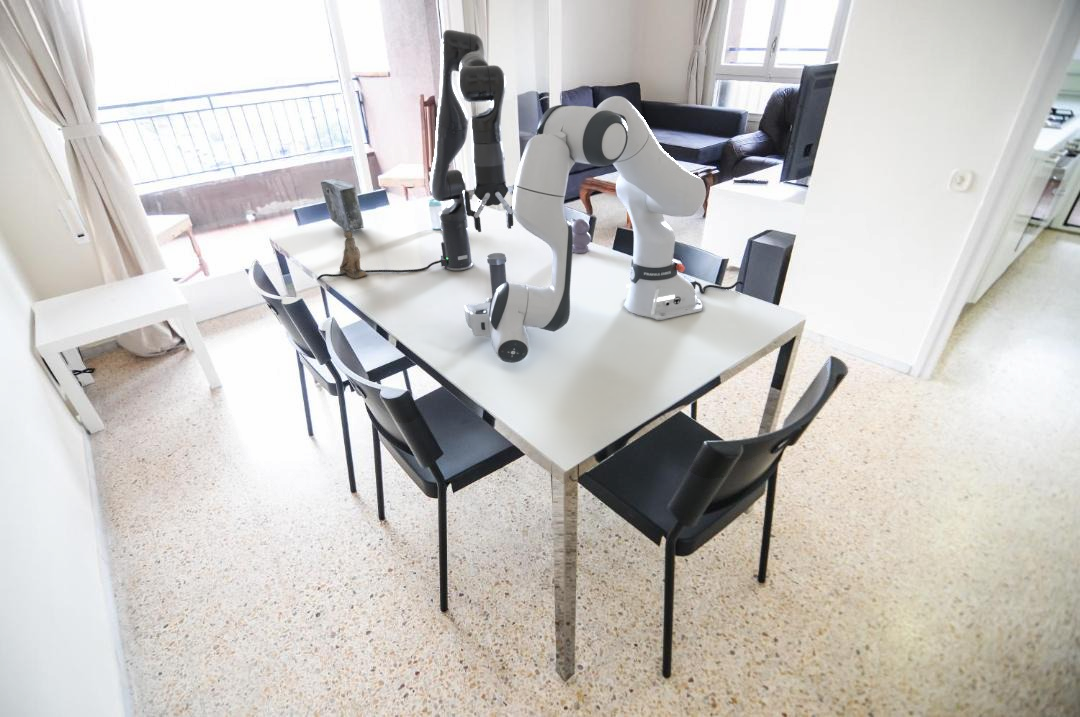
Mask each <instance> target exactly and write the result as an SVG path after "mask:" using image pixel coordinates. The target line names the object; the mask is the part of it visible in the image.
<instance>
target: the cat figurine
mask: <svg viewBox="0 0 1080 717" xmlns="http://www.w3.org/2000/svg"><path fill="white" fill-rule="evenodd" d="M570 221H571V226H572V231H573V251H572V253H575V254H585V253H587V252H588V251H589V246H588V245H590V243H591V241H592V236H591V234H590V233H589V231H590V224H589V222H588V221H587V219H584V218H577V219H575V218H570Z"/></svg>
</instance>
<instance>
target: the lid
mask: <svg viewBox="0 0 1080 717" xmlns="http://www.w3.org/2000/svg"><path fill="white" fill-rule="evenodd" d="M486 259H487V264H488V265H489V264H490V265H501V264H504V263H505V264H506V263H507V257H506V254H505V253H502V252H492V253H490V254H488V255H487V257H486Z"/></svg>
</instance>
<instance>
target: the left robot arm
mask: <svg viewBox="0 0 1080 717" xmlns="http://www.w3.org/2000/svg"><path fill="white" fill-rule="evenodd" d="M441 36H442V37H441V41H440V63H439V64H440V66H439V67H440V68H439V69H440V72H439V94H438V103H437V104H438V105H437V115H436V126H435V145H434V154H433V161H432V167H431V172H430V178H429V179H430V180H429V189H430V193H431V196H432V199H435V200H436V201H442V202H447V201H450V202H449V203H448V205H447V206H446V207H444V209H443V210H442V211H441V212H440V223H441V229H440V230H441V235H442V242H441V243H440V246H441V250H442V251H441V253H442V255H440V260H435V261H433V262H431V263H429V264H428V265H427V266H424V267H421V268H415V269H413V268H412V269H367V270H366V269H365V270H364V271H365V273H366V274H368V273H414V272H415V273H417V272H422V271H425V270H429V268H431V267H432V266H433V265H437V264H440V267H444V269H445V270H449V271H454V272H459V271H467V270H469V269H471V268H472V266H473V260H472V250H471V242H470V234H469V224H468V217H472V218H473V225H474V229H475V230H476V231H477V232H478V233H482V224H481V217H480V215H481V213H482V211H483V210H484V208H485V206H486V207H491V206H500V204H501V205H502V206H503V208H504V209H505V211H506V212H505V217H506V218H505V219H506V227H507V228H508V230H509V229H512V227H513V226H514V213H513V210H512V205H511V206H510V205H509V203H508V202H507V200H506V199H505V197H506V196H507V194H508V192H509V194H510V195H511V196H513V191H514V185H515V184H512V185H509V186H508V185H507V182H506V181H507V180H506V168H505V167H506V166H505V165H506V164H505V153H504V146H503V138H502V127H501V126H502V124H501V122H502V110H503V104H504V98H505V92H506V87H507V85H506V84H507V80H506V79H507V78H506V74H505V72H504V71H503V69H502V68H501V67H500V66H498V65H493V64H491V65H489V63H488V62H487V60H486V52H485V46H484V43H483V40H482V38H481V37H480V36H479V35H477V34H475V33H471V32H465V31H459V30H454V29H446V30H445V31H444V32H443V34H442V35H441ZM453 72H458V77H457V86H458V91H457V88H456V85H455V82H454V79H453ZM459 94H460V96H461V97H460V96H459ZM461 98H462V99H463V100H464V101H466V102H467V103H484V102H486V103H487V102H490V104H489V106H488V108H487V110H485V111H482V112H479V113H475V114H473V115H471V117H470V120H469V114H468V111H467V109H466V107H465V104H464V103H463V101H462V99H461ZM469 126H470V136H471V158H472V167H473V177H474V188H473V189H467V186H466V180H465V178H464V175H463V173H462V172H461V171H460V170H459V169H450V167H451V164H452V163H453V161H454V160H455V158H456V157H457V155H458V154H459V153H460V151H461V150H462V148H463V147H464V144H465V143H466V140H467V137H468V130H469V129H468V128H469ZM474 195H475V197H476V198H477V202H476V204H475V207H474V209H472V206H471V200H473V196H474ZM343 276H344V277H345V276H347V273H336V274H333V273H323V274H320V275H319V276H317V278H316V280H321V279H322V278H323V277H329V278H330V277H332V278H335V277H336V278H337V277H338V278H339V277H343Z"/></svg>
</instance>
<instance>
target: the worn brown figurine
mask: <svg viewBox="0 0 1080 717" xmlns="http://www.w3.org/2000/svg"><path fill="white" fill-rule="evenodd" d="M343 236H344V238H346V239H345V240H344V249H343V253H342V254H343V255H342V261H341V264H340V266H339V273H340V274H343V273H347V275H346V276H347V277H350V278H352V279H356V280H357V279H360V278H362V277H366V276H367V273H365V270H363V269H362V268H361V252H360V249H359V247H358V246H357V244H356V243H357V242H356V239H355V237H354V234H353V231H350V230H348V231H346V230H345V232H344V234H343Z"/></svg>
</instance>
